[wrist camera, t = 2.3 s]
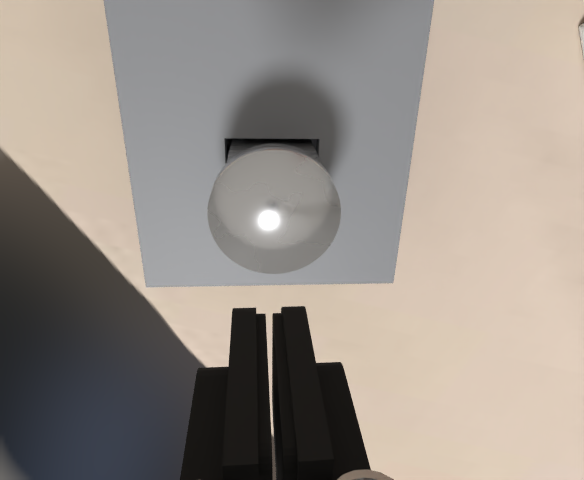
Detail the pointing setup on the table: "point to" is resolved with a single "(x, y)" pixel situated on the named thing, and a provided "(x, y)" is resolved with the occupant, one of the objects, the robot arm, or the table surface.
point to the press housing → (267, 120)
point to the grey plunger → (273, 205)
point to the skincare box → (582, 36)
